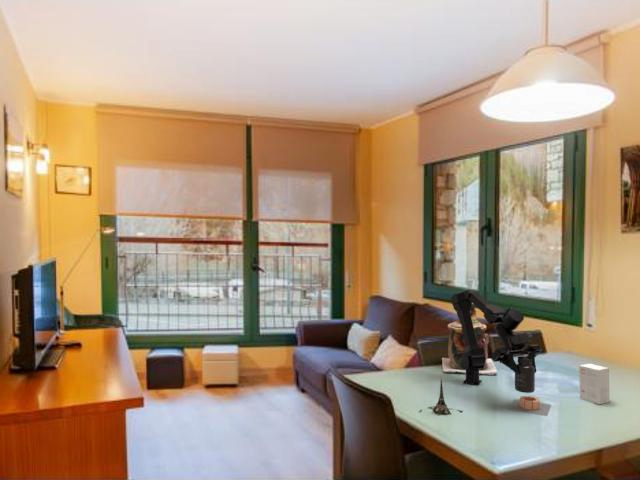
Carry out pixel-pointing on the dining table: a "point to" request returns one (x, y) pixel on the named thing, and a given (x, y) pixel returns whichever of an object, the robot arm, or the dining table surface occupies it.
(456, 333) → the cookie jar
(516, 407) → the slate mat
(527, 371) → the supplement bottle
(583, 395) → the small box
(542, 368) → the dining table surface
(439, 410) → the eiffel tower figurine
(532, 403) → the terracotta bowl
